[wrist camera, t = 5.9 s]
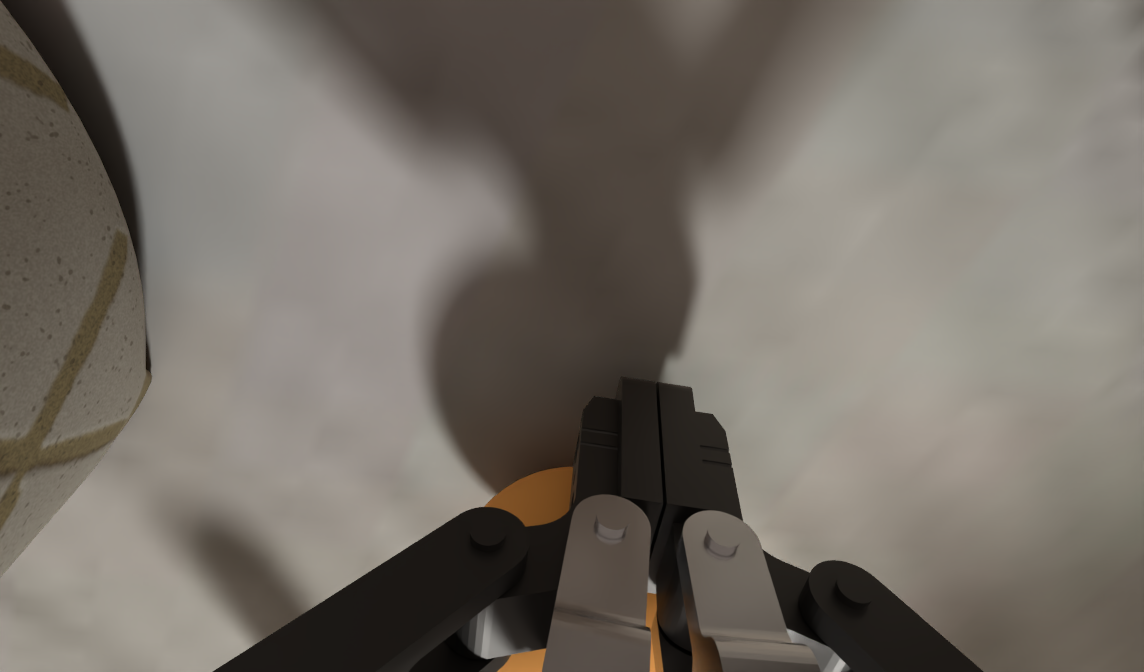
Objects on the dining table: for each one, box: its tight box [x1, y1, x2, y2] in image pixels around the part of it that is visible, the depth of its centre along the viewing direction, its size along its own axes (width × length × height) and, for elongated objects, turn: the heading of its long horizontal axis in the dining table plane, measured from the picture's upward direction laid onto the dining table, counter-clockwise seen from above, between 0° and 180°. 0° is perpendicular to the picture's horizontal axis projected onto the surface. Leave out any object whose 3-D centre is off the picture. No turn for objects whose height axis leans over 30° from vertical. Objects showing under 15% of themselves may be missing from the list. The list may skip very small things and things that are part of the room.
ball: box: [484, 467, 657, 672], centre depth 15 cm, size 5×5×5 cm
